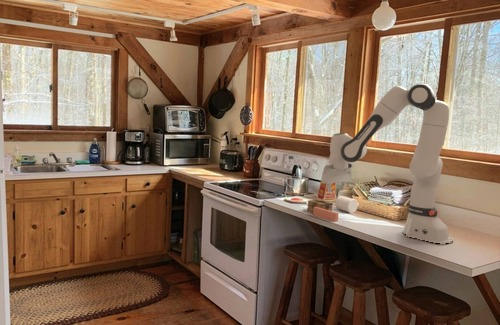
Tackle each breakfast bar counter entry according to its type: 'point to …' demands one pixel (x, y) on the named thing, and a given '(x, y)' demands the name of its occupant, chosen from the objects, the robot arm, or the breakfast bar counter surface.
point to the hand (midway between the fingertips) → (335, 191)
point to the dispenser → (319, 205)
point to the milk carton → (324, 193)
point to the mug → (346, 204)
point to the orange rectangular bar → (325, 214)
